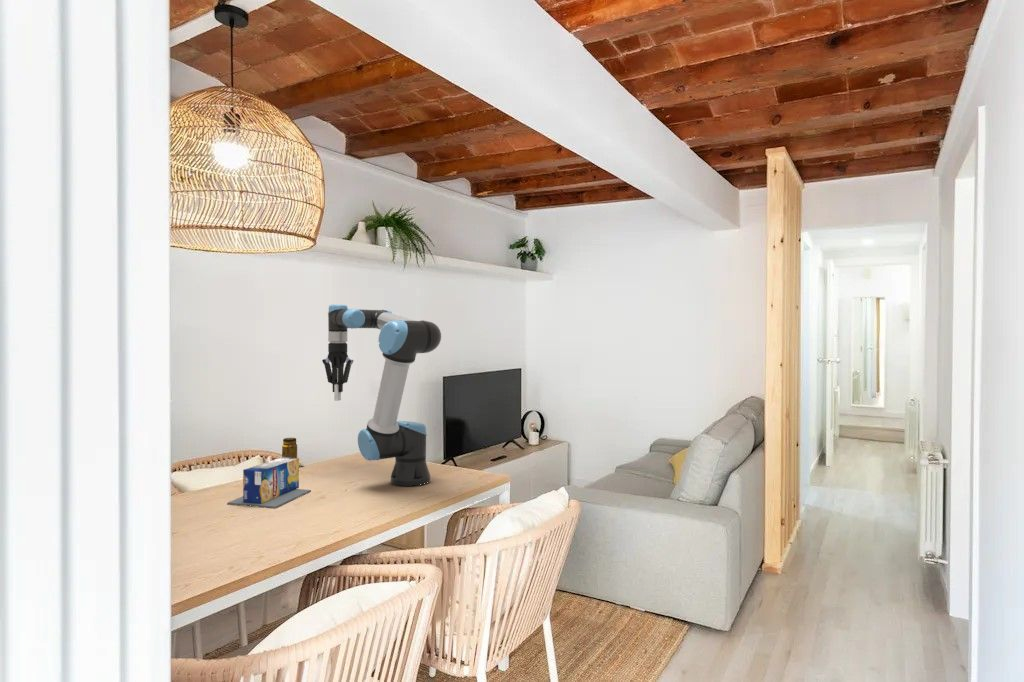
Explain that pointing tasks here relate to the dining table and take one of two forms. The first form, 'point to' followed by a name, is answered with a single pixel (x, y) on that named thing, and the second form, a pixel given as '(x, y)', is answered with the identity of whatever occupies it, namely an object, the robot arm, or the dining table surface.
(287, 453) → the condiment
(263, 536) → the dining table surface
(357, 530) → the dining table surface
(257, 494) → the blue cracker box
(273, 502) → the mat
